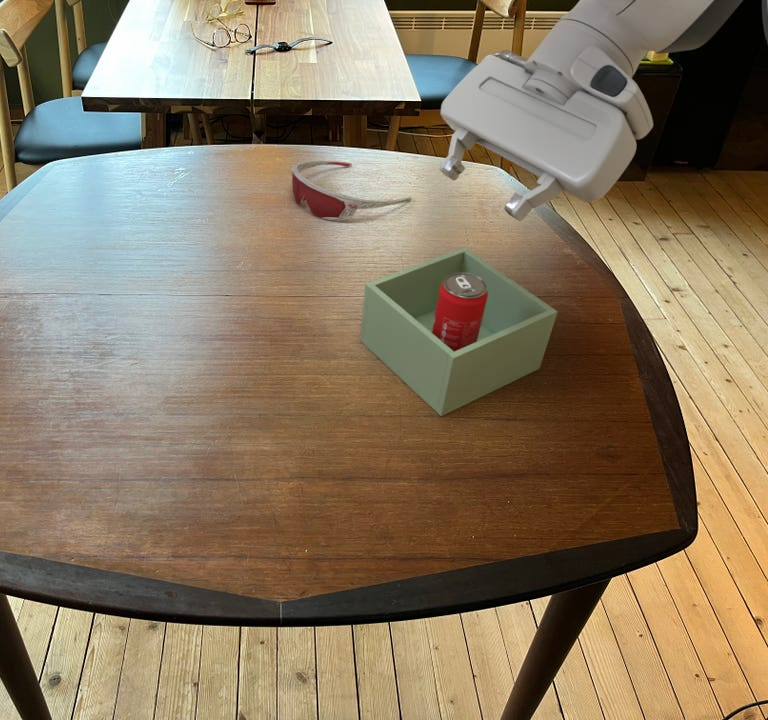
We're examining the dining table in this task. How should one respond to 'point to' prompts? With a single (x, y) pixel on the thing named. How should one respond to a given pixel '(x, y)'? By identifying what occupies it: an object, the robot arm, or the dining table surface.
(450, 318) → the beverage can
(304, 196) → the sunglasses
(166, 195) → the dining table surface
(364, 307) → the bin
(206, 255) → the dining table surface
